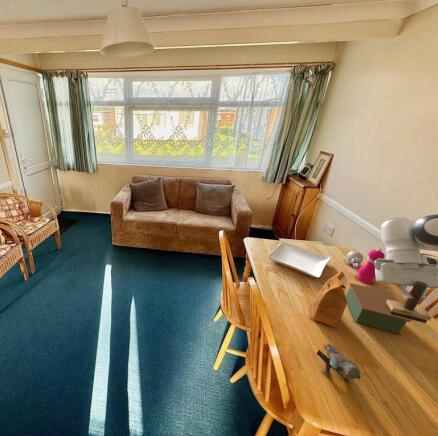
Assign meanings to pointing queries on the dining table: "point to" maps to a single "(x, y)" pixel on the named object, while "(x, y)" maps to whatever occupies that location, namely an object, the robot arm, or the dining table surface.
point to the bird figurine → (339, 363)
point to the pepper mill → (370, 266)
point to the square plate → (299, 259)
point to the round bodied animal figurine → (354, 258)
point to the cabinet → (373, 308)
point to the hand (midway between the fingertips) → (415, 299)
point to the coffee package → (330, 301)
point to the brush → (410, 305)
